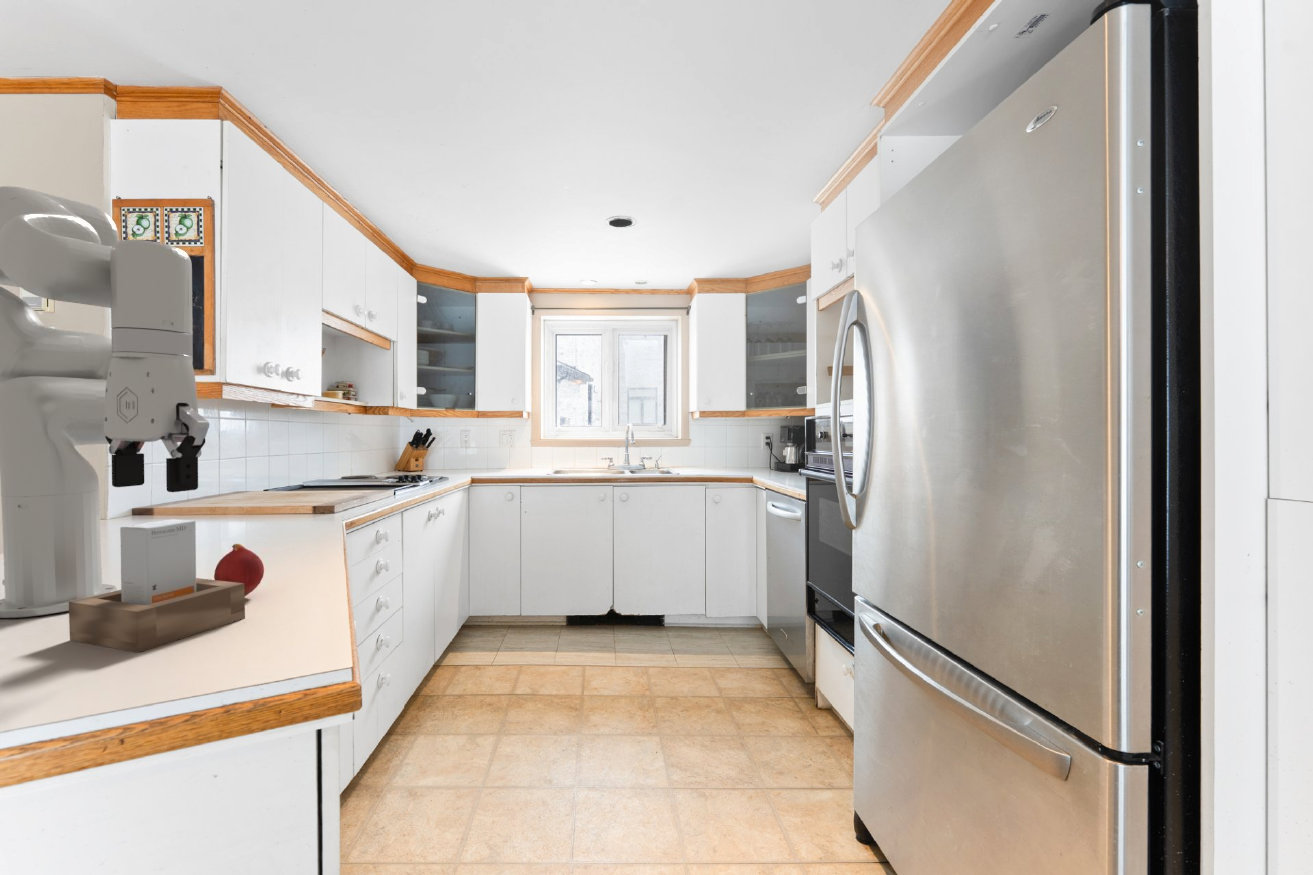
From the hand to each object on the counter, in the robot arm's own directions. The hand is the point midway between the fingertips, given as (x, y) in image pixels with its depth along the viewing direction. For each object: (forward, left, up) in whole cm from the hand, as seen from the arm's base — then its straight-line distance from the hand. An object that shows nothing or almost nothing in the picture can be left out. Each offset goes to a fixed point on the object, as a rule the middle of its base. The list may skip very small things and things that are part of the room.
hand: (155, 488), depth 73 cm
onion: (-2, +12, -17) cm, 21 cm away
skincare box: (+1, 0, -16) cm, 16 cm away
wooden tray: (+1, 0, -17) cm, 17 cm away
